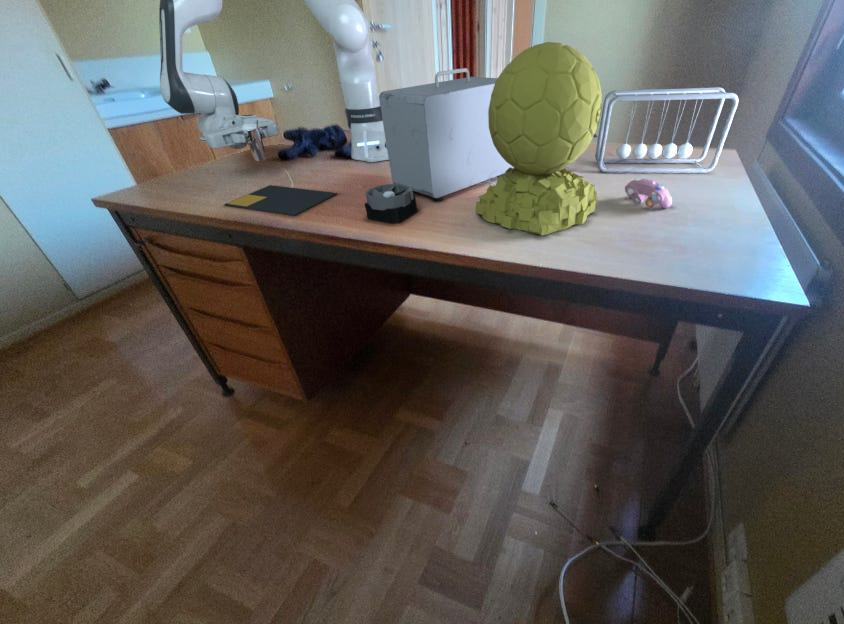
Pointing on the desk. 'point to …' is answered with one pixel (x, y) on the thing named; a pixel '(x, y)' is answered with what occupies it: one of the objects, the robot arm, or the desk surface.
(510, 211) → the trophy
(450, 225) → the desk surface
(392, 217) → the cpu cooler
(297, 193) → the desk mat
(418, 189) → the vintage electronic device
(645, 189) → the video game controller
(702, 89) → the newton's cradle
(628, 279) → the desk surface
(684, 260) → the desk surface
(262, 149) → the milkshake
